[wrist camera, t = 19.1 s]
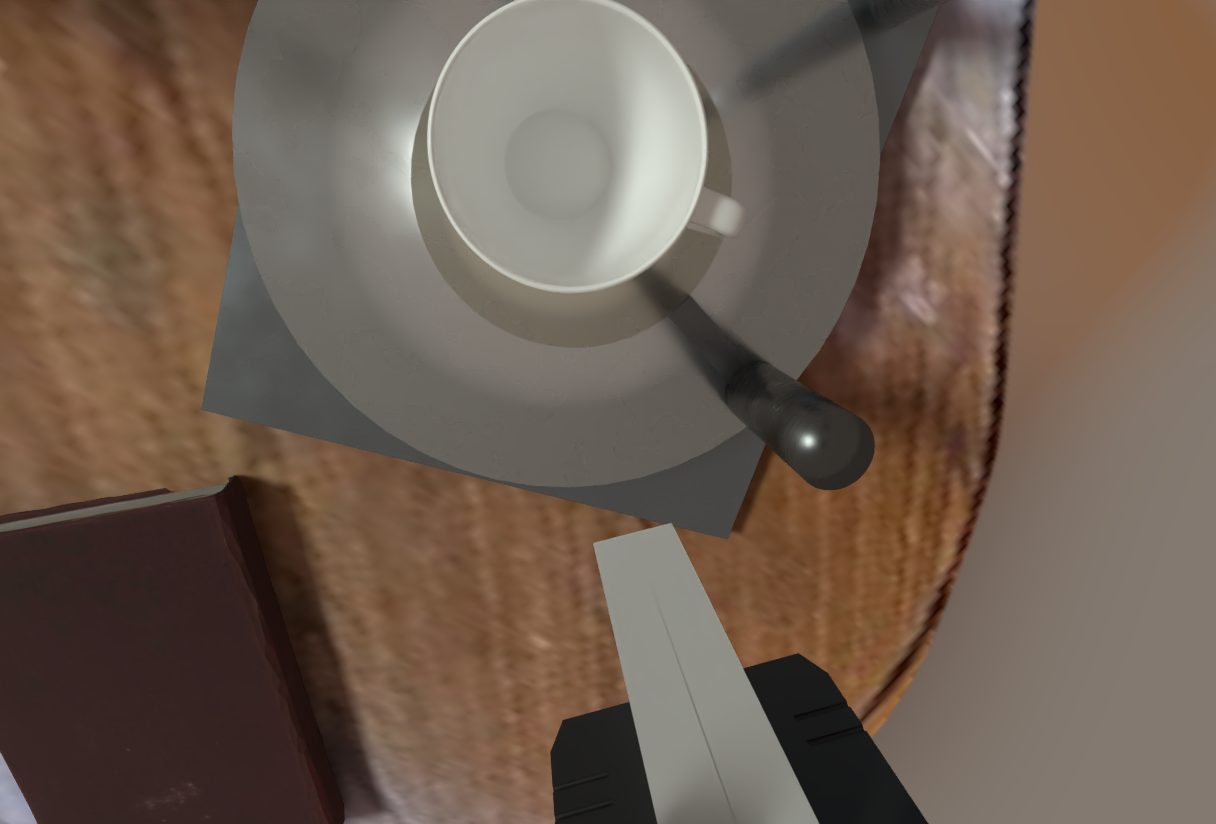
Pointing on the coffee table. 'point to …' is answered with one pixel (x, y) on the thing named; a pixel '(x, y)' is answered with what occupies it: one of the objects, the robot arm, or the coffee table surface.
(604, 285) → the cup
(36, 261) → the coffee table surface
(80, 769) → the book
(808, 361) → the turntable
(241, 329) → the base
